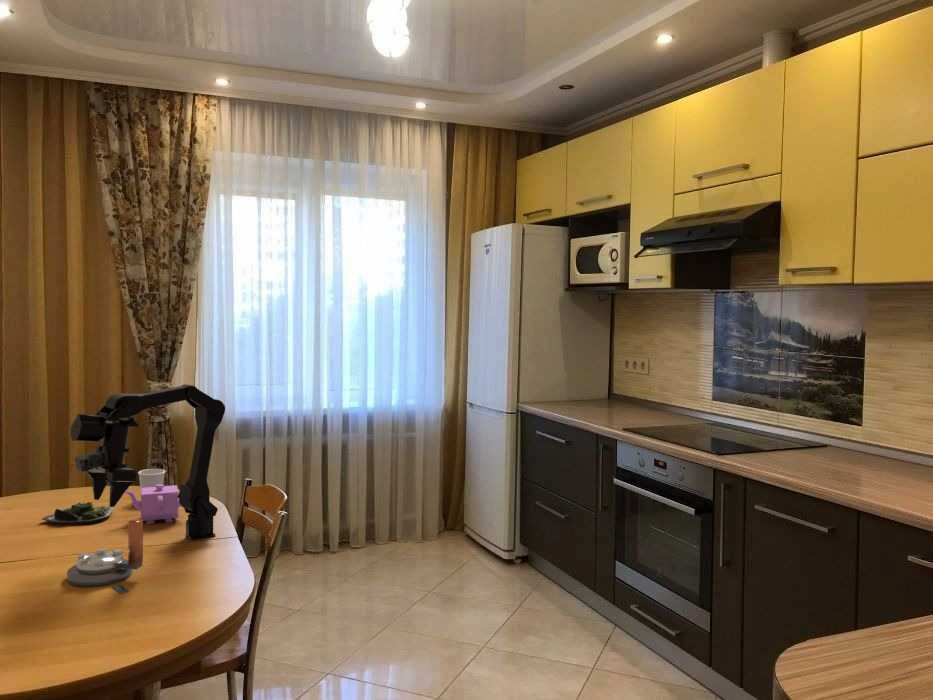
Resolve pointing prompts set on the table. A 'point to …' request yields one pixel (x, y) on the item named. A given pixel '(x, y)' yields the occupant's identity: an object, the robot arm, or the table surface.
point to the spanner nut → (115, 554)
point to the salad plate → (79, 515)
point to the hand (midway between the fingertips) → (104, 503)
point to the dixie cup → (151, 477)
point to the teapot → (157, 503)
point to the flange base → (98, 578)
